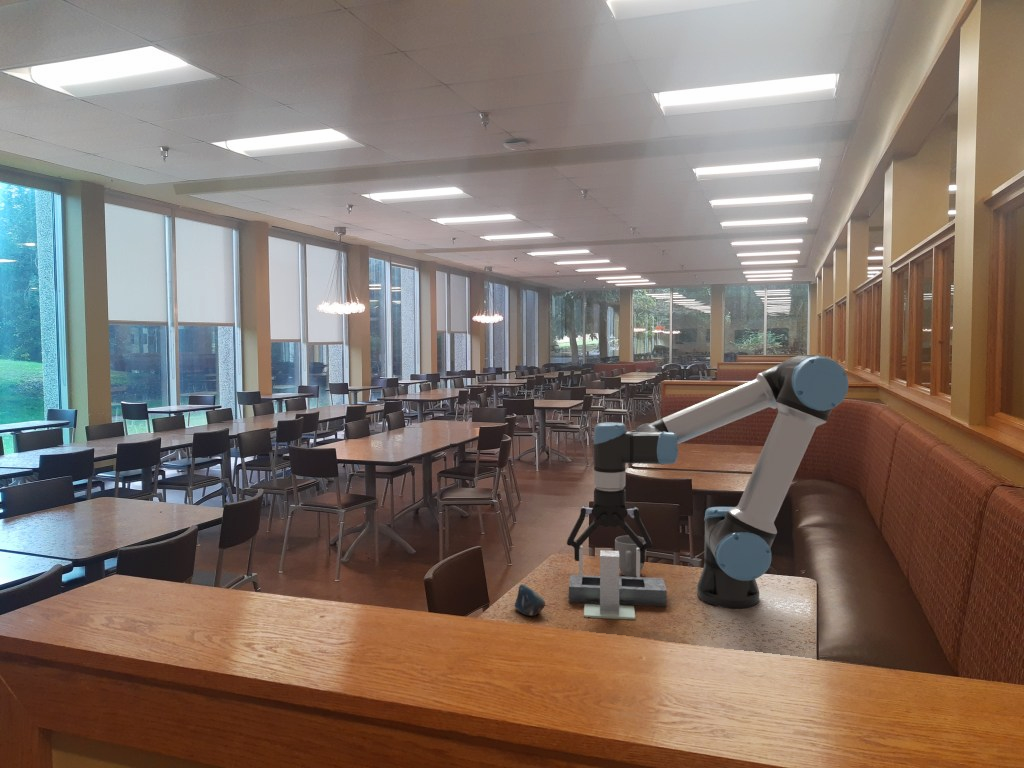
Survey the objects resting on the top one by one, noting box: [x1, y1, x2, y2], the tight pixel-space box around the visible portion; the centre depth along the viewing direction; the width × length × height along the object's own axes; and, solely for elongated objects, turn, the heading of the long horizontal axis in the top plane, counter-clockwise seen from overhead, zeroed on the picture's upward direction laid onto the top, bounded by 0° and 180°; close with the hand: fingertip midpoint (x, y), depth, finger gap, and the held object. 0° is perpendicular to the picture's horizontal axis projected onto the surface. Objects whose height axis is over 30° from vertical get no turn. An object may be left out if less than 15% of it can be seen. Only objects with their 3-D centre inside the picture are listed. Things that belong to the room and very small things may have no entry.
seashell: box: [514, 583, 546, 617], centre depth 167 cm, size 6×9×10 cm
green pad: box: [583, 603, 636, 621], centre depth 165 cm, size 12×7×1 cm, turn 82°
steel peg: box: [599, 549, 620, 615], centre depth 165 cm, size 4×4×14 cm
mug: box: [614, 534, 647, 577], centre depth 191 cm, size 12×9×10 cm
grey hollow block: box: [568, 574, 668, 607], centre depth 175 cm, size 24×9×4 cm, turn 82°
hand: (609, 575), depth 165 cm, fingers open, 13 cm apart
